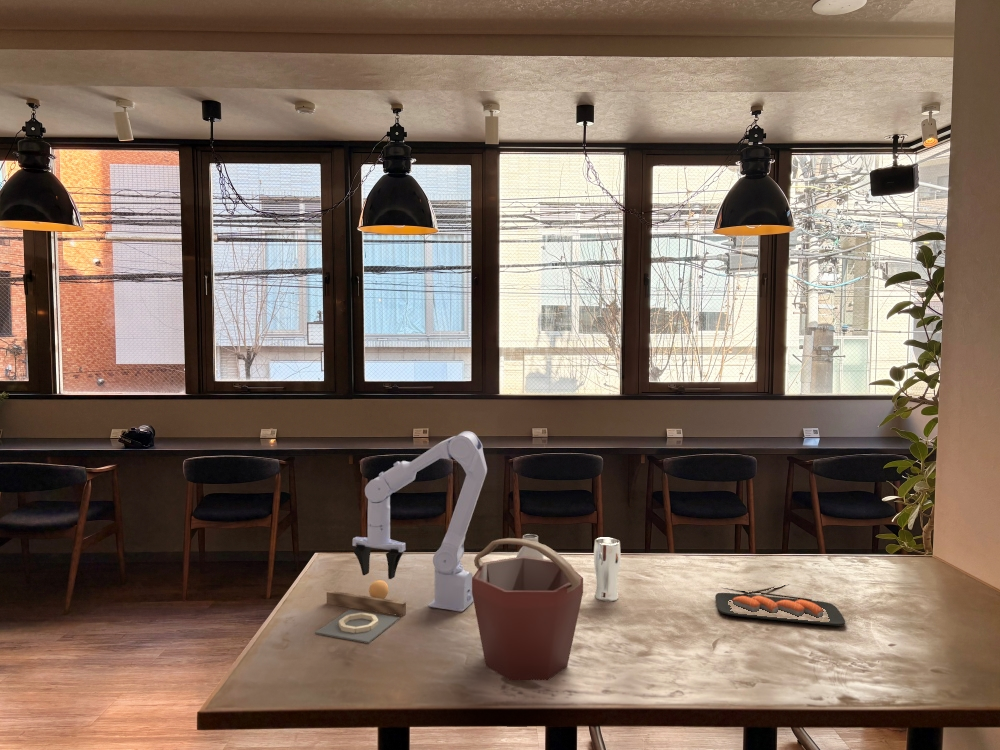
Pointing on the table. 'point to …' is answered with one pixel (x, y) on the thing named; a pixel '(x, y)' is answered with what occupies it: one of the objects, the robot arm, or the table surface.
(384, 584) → the ball
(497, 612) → the bucket
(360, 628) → the cradle
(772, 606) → the sushi plate
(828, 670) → the table surface
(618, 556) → the beer glass
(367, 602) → the fence
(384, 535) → the robot arm
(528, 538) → the plastic bottle
